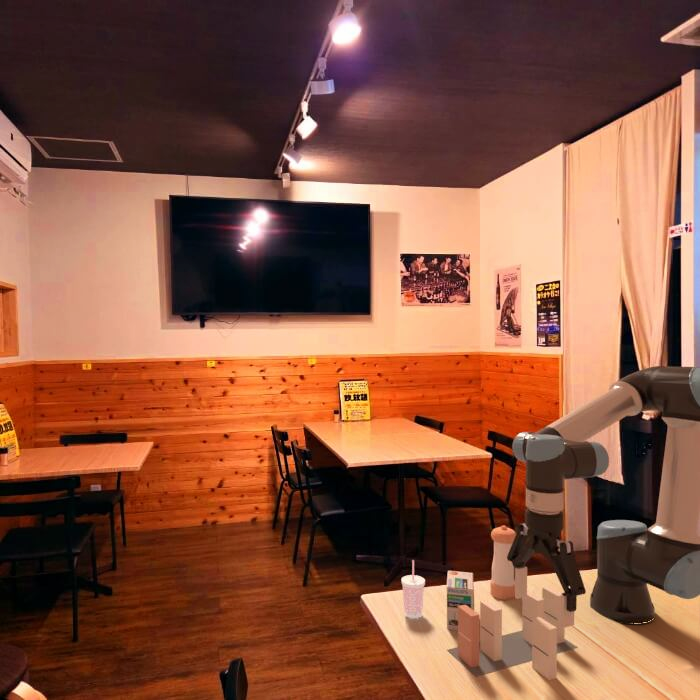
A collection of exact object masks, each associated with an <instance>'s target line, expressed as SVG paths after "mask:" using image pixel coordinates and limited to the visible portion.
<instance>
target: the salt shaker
mask: <svg viewBox="0 0 700 700" xmlns="http://www.w3.org/2000/svg"><path fill="white" fill-rule="evenodd" d="M516 534H517V532H516V530H514V529H512V528H510V527H508V526H506V525H501V526H499V527H495V528H493V529H492V531H491V533H490V537H491V540H492V541H493V558H492V563H491V579H490V595H491V596H492V597H494V598H495V599H498V600H501V601H508V600H513V599H516V598H515V580H514V566H513V564H512V562H511V561H508V559H507V556H508V553H509V551H510V548H511V546H512V543H513V541H514V539H515V536H516Z"/></svg>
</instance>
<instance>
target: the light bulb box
mask: <svg viewBox="0 0 700 700" xmlns="http://www.w3.org/2000/svg"><path fill="white" fill-rule="evenodd" d="M474 586H475V585H474V573H473V572H467V571H466V572H465V571H457V570H447V577H446V629H448V630H456V631H458V606H462V605H467V606H468V607H469V608H471V609H472V610H474V611H475V589H474Z"/></svg>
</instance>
